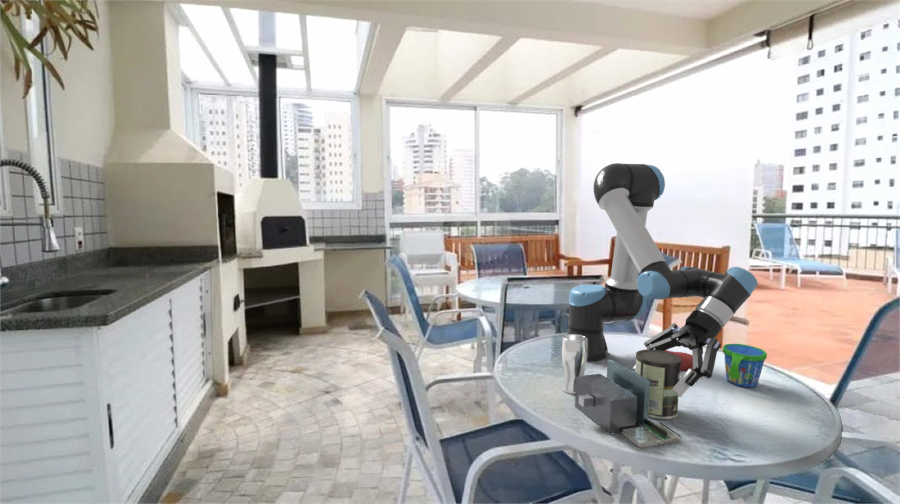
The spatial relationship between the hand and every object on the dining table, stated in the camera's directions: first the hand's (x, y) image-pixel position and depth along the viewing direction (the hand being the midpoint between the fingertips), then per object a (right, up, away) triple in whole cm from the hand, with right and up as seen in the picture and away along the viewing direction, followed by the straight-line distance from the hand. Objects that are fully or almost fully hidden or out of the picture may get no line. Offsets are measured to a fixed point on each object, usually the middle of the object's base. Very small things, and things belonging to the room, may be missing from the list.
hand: (655, 381), depth 109 cm
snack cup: (+34, -6, +18) cm, 39 cm away
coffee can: (+1, -8, +2) cm, 8 cm away
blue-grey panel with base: (-13, -8, -6) cm, 16 cm away
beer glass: (-17, -6, +13) cm, 22 cm away
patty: (+24, -4, +35) cm, 43 cm away
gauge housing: (-10, -8, -5) cm, 14 cm away
